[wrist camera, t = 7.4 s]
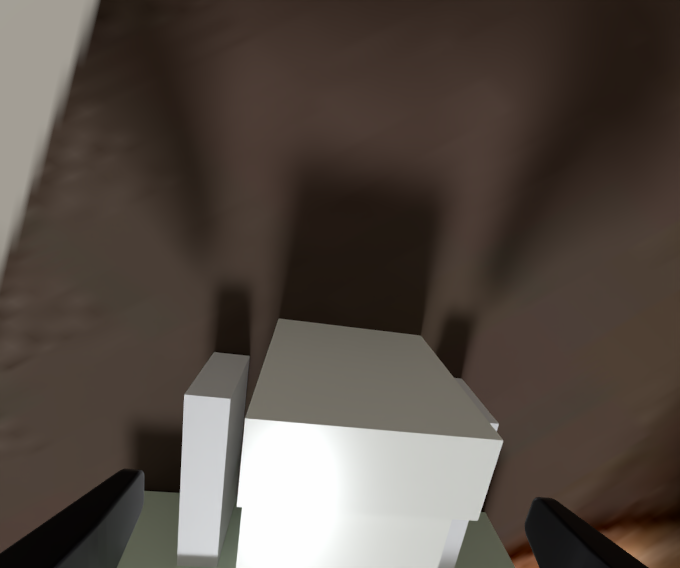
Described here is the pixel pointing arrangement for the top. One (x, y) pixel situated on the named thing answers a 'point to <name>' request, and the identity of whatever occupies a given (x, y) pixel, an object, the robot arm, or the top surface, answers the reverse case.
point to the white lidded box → (357, 452)
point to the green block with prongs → (222, 480)
